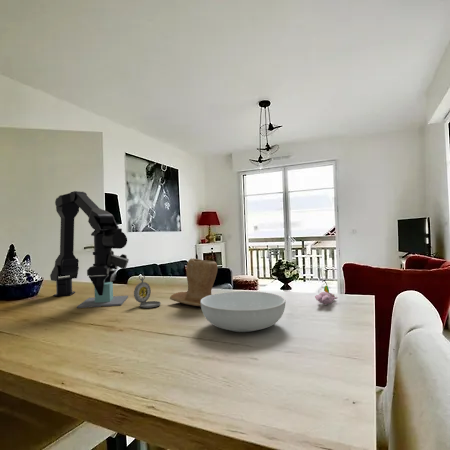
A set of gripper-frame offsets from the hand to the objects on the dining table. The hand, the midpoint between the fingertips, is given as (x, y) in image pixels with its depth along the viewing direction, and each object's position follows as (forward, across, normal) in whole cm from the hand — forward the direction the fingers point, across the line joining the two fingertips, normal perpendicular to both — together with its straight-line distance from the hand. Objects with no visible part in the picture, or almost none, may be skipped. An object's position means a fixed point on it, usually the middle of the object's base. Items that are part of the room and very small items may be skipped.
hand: (104, 292), depth 114 cm
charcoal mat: (+3, 0, 0) cm, 3 cm away
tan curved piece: (+4, -12, -32) cm, 34 cm away
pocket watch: (+4, -10, -16) cm, 19 cm away
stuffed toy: (+4, -23, -71) cm, 75 cm away
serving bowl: (+4, -40, -42) cm, 58 cm away
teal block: (+3, 0, 0) cm, 3 cm away
